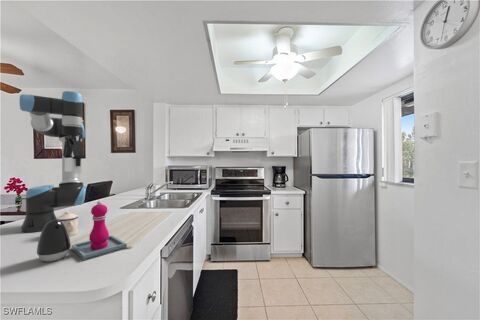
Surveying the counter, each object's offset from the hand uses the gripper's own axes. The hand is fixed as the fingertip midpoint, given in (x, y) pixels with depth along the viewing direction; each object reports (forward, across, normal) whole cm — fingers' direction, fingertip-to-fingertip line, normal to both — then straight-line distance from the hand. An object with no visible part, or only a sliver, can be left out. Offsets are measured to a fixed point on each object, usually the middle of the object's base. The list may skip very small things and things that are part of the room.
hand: (72, 172), depth 104 cm
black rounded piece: (+32, -15, +10) cm, 37 cm away
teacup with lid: (+33, +13, -2) cm, 35 cm away
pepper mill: (+31, -18, -5) cm, 37 cm away
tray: (+32, -18, -5) cm, 37 cm away
